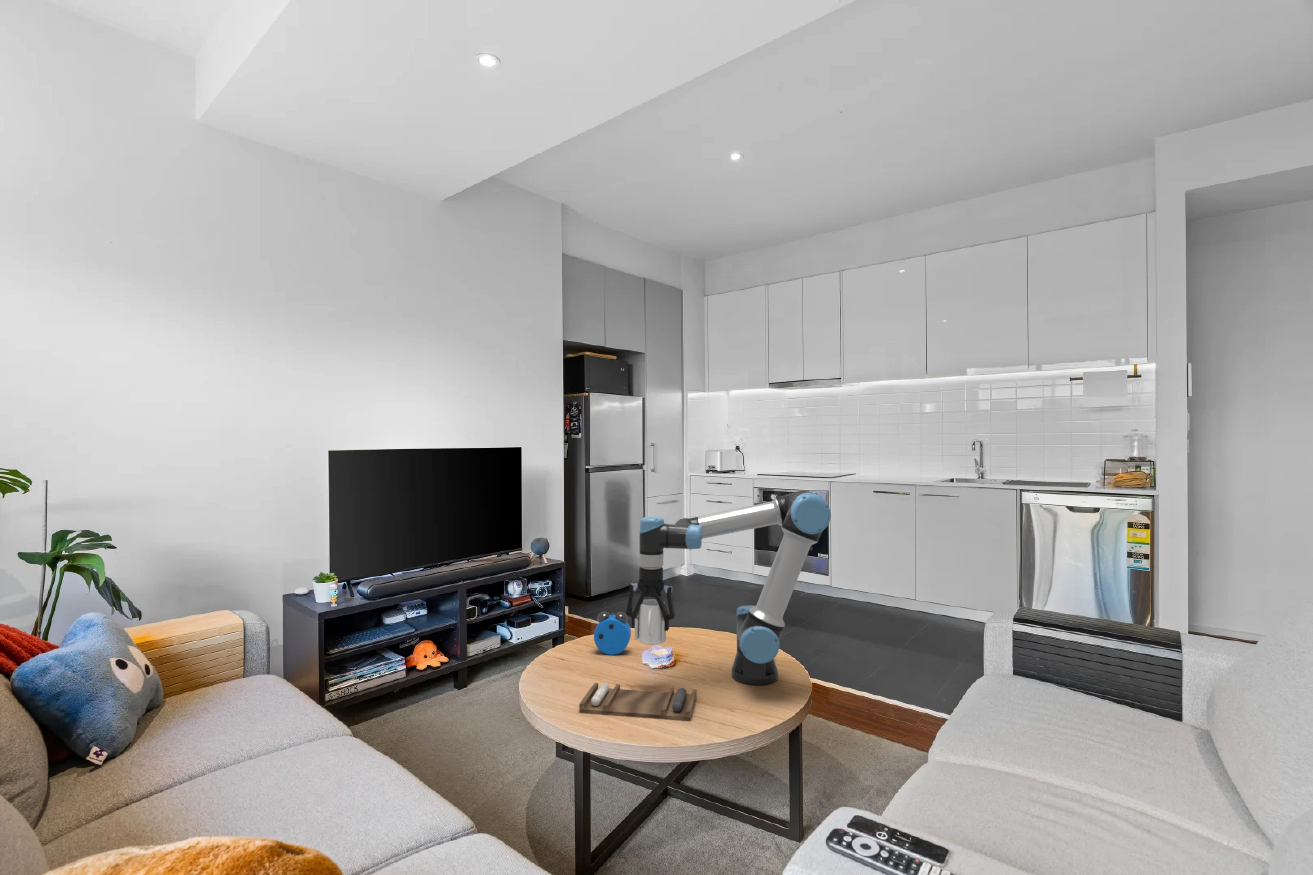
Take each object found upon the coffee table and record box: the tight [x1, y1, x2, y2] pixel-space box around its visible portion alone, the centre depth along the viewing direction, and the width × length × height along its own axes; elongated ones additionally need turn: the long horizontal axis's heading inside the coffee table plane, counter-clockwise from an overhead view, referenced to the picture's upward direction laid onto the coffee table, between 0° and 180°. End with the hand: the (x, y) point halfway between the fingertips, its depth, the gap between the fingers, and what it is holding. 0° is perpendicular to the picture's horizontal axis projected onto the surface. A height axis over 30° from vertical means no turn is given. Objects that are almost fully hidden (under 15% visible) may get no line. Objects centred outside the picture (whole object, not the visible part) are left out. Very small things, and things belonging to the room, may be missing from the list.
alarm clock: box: [593, 611, 632, 656], centre depth 230 cm, size 13×6×15 cm, turn 85°
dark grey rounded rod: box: [672, 687, 688, 712], centre depth 182 cm, size 3×13×3 cm, turn 170°
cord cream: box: [591, 682, 610, 706], centre depth 186 cm, size 3×13×3 cm, turn 170°
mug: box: [637, 598, 666, 646], centre depth 195 cm, size 12×8×12 cm
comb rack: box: [578, 682, 698, 722], centre depth 184 cm, size 32×16×2 cm, turn 80°
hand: (650, 639), depth 195 cm, fingers closed on mug, 8 cm apart
